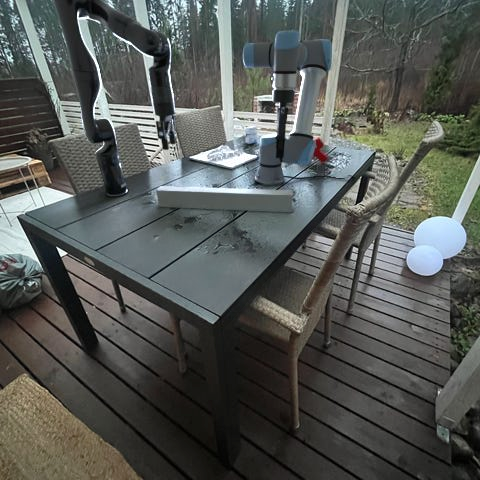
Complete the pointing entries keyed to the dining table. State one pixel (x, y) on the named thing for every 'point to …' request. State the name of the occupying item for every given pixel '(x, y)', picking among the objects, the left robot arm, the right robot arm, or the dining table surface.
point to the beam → (225, 198)
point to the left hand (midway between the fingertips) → (169, 146)
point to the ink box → (251, 134)
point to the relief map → (224, 157)
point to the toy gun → (319, 151)
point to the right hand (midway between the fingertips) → (279, 152)
